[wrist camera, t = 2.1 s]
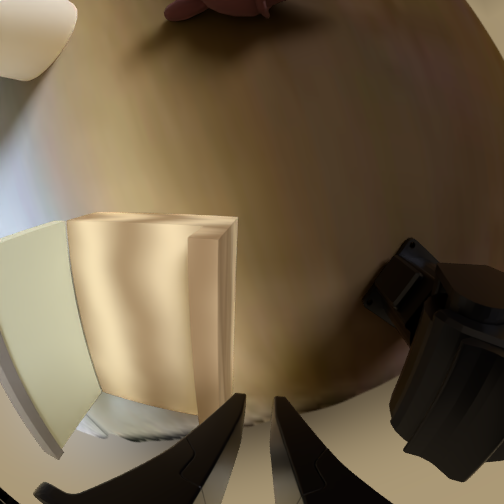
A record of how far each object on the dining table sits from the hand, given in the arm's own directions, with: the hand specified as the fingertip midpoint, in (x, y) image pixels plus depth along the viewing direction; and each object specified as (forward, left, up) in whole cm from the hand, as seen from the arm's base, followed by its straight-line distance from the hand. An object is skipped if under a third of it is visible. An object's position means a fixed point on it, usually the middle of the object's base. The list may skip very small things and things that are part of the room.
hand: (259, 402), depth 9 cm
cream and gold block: (+6, +7, -12) cm, 15 cm away
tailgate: (+11, +10, -8) cm, 17 cm away
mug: (+35, -8, -12) cm, 38 cm away
